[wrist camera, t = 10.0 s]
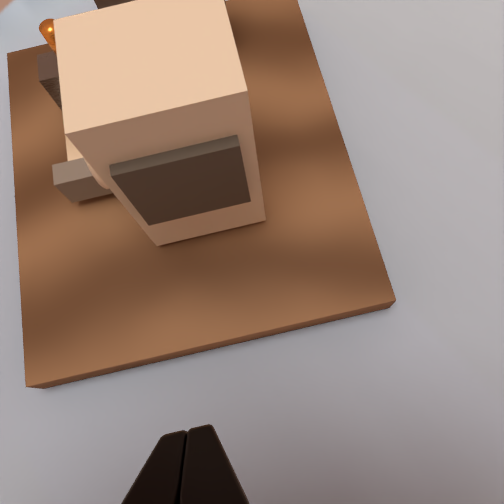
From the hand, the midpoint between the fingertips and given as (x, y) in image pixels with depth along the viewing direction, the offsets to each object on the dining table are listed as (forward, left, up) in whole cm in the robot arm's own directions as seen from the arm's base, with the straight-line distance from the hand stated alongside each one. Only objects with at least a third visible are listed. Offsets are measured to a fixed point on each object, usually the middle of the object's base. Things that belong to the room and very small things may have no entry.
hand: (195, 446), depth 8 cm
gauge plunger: (+10, +2, -11) cm, 15 cm away
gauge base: (+13, 0, -13) cm, 18 cm away
